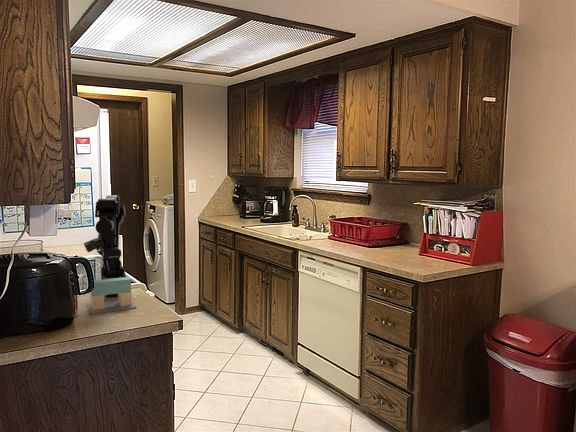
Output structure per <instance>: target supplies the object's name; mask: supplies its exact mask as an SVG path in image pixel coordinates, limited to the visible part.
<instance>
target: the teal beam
mask: <svg viewBox="0 0 576 432" xmlns="http://www.w3.org/2000/svg"><path fill="white" fill-rule="evenodd" d="M126 292H131V293H132V279H131V278H130V277H129V276H125V277H123V278H113V279H103V280H102V279H96V280H94V288H93V290H92V291H91V292H90V293H91V295H92V296H100V295H104V296H105V295H109V294H117V293H126Z"/></svg>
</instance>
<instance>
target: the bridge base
mask: <svg viewBox="0 0 576 432" xmlns="http://www.w3.org/2000/svg"><path fill="white" fill-rule="evenodd" d="M89 294H90V303H86V307H87V309H88V311H89V313H90V314H91V315H94V314H95V315H97V314H103V313H110V312H118V311H125V310H134V309H137V306H136V305H135V304H134V303H133V299H132V291H131V292H126V293H118V296H117V300H110V301H105V295H100V296H92V295H91V292H90V293H89Z"/></svg>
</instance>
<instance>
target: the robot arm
mask: <svg viewBox="0 0 576 432" xmlns="http://www.w3.org/2000/svg"><path fill="white" fill-rule="evenodd" d="M124 217H126V205H125V203H124V202H123V201H122V200H121V199H120V195H118V194H117V195H116V194H115V195H113V194H112V195H111V194H108V195H106V197H105V198H98V199H97V201H96V202H95V211H94V218H98V219H99V220H98V221H97V222H96V223H95V230H96V233H98V234H97V237H96V238H93V239H90V240H88V241H85V242H84V243H83V246H84V248H85V250H86V252H87V253H91V252H93V251H95V250H96V252H97V253H98V254H99V255H100V256H101V260H102V267H101V268H100V276H101V280H103V279H113V278H123V277H126V270H125V269H124V266H123V263H122V261H121V260H120V258H121V256H122V250H121V249H120V248H119V245H120V227H121V225H122V224H123V222H124V221H125V220H124ZM104 297H106V298H113V297H118V293H117V294H109V295H104Z"/></svg>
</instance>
